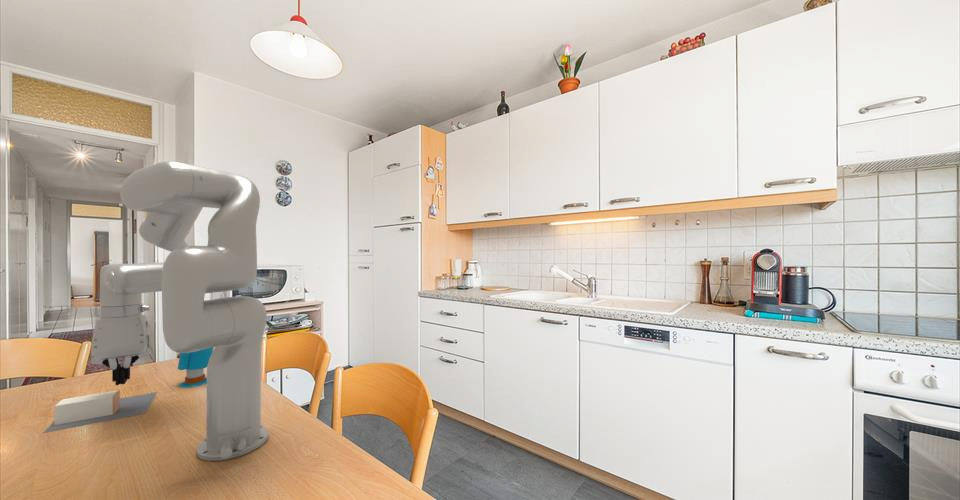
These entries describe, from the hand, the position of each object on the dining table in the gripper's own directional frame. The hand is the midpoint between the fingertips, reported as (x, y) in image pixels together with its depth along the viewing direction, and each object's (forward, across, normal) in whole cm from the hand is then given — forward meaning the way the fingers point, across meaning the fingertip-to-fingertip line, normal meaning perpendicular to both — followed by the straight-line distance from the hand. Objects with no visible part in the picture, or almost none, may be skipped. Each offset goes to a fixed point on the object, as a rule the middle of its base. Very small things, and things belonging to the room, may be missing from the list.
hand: (121, 383), depth 90 cm
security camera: (+8, -14, -13) cm, 21 cm away
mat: (+7, +3, -2) cm, 8 cm away
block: (+5, +1, 0) cm, 5 cm away
